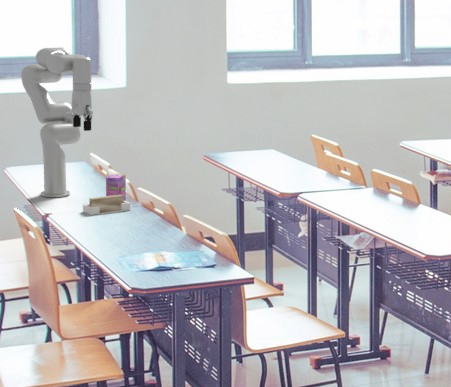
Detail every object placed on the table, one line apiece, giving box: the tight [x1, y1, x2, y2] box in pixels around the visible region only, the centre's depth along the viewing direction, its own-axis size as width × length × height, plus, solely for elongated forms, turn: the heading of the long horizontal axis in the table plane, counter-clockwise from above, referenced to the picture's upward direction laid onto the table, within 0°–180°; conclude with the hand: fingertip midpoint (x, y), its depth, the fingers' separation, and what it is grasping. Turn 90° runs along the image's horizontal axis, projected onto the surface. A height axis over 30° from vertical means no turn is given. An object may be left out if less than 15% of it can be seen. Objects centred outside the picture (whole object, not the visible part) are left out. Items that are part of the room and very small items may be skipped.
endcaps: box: [82, 200, 131, 216], centre depth 415 cm, size 8×18×3 cm, turn 123°
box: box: [105, 172, 127, 201], centre depth 431 cm, size 10×6×12 cm, turn 168°
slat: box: [88, 195, 124, 213], centre depth 415 cm, size 3×14×6 cm, turn 123°
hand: (82, 128), depth 420 cm, fingers open, 9 cm apart
